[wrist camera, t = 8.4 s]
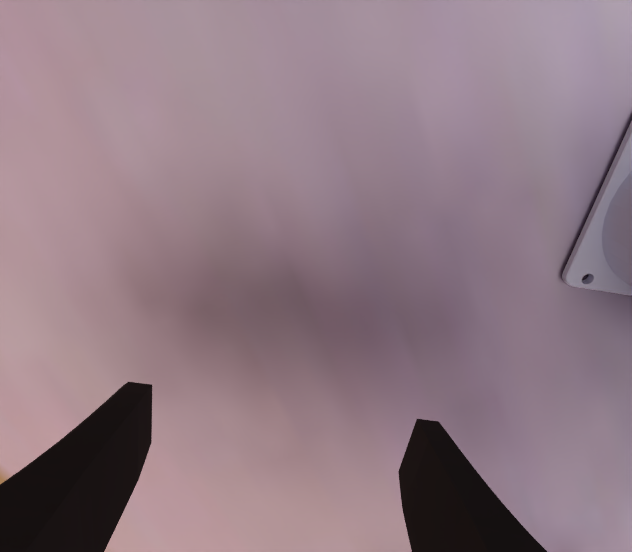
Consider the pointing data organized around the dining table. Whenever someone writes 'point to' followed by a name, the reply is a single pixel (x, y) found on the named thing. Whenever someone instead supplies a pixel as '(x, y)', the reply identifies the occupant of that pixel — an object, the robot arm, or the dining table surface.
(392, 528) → the dining table surface
